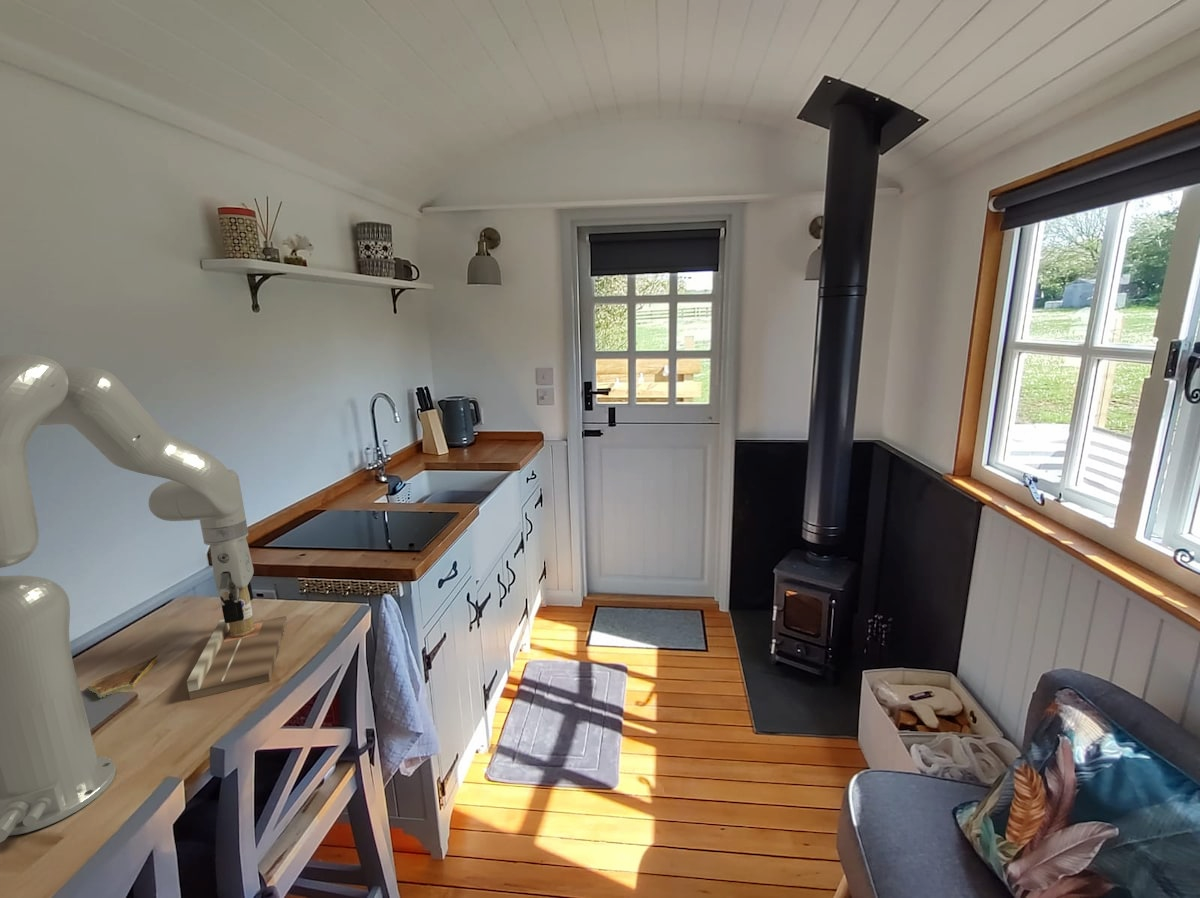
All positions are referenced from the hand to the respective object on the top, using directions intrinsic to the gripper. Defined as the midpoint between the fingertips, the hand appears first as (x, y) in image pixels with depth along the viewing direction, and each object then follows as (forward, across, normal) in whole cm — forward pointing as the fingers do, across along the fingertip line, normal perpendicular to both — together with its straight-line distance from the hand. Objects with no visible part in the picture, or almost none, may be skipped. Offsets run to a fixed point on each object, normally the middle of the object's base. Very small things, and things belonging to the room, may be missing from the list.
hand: (239, 610), depth 115 cm
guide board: (+6, -8, -1) cm, 10 cm away
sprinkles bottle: (+5, 0, 0) cm, 5 cm away
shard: (+7, -7, +19) cm, 21 cm away
